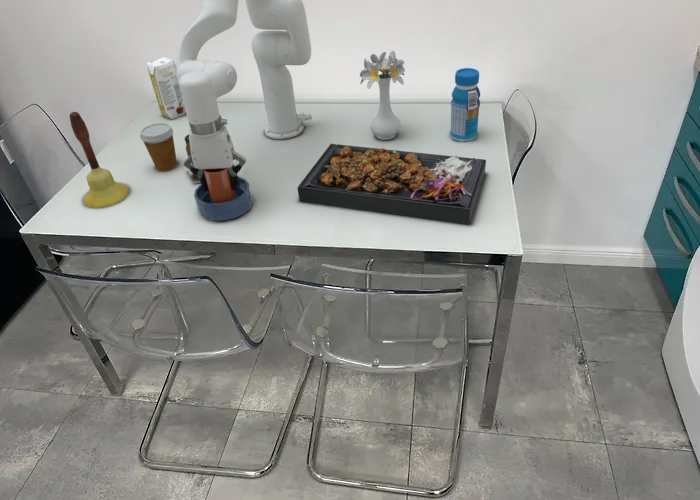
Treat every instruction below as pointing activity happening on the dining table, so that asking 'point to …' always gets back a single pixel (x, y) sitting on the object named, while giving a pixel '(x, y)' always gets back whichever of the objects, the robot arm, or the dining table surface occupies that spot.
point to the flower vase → (384, 92)
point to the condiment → (193, 176)
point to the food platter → (395, 182)
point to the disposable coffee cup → (160, 145)
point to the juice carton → (166, 87)
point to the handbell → (97, 172)
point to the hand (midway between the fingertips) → (221, 187)
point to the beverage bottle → (465, 105)
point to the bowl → (225, 209)
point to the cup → (219, 185)
